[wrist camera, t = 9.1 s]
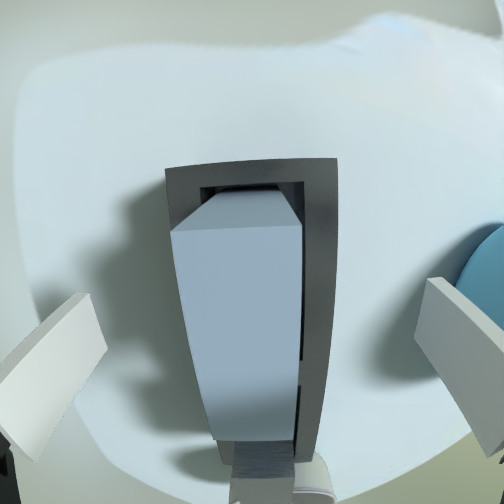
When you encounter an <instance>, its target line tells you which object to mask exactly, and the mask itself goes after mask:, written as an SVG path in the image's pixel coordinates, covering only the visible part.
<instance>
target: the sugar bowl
mask: <svg viewBox="0 0 504 504" xmlns="http://www.w3.org/2000/svg"><path fill="white" fill-rule="evenodd" d="M455 288H456V289H457V290H458V291H459V292H461V293H462V294H463V295H464V296H465V297H466V298H468V299H469V300H470V301H471V302H472V303H473V304H474V305H476V306H477V307H478V308H479V309H480V310H481V311H482V312H483V313H485V314H486V315H487V316H488V317H489V318H490V319H491V320H492V321H493V322H494V323H495V324H496V325H497V326H499V327H500V328H501V329H502V330H503V331H504V225H503V226H501V227H500V228H498V229H497V230H496V231H494V232H493V233H492V234H490V235H489V236H488V237H487V238H486V239H485V240H484V241H483V242H482V243H481V244H480V245H479V246H478V247H477V249H476V250H475V251H474V253H473V254H472V255H471V257H470V258H469V260H468V261H467V263H466V265H465V266H464V268H463V270H462V272H461V274H460V276H459V278H458V281H457V283H456V286H455Z"/></svg>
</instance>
